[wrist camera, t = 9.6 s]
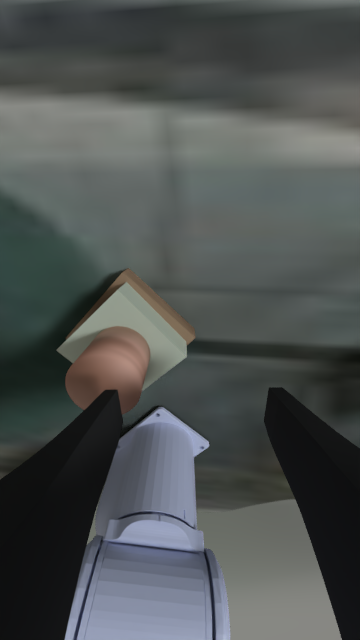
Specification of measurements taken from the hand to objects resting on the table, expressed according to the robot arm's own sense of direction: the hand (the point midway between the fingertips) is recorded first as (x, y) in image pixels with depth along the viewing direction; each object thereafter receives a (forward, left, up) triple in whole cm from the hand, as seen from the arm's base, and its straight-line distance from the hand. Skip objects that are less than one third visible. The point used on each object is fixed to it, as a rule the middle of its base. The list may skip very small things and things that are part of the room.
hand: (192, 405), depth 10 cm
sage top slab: (-4, +3, -9) cm, 10 cm away
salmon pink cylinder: (-4, +3, -6) cm, 8 cm away
